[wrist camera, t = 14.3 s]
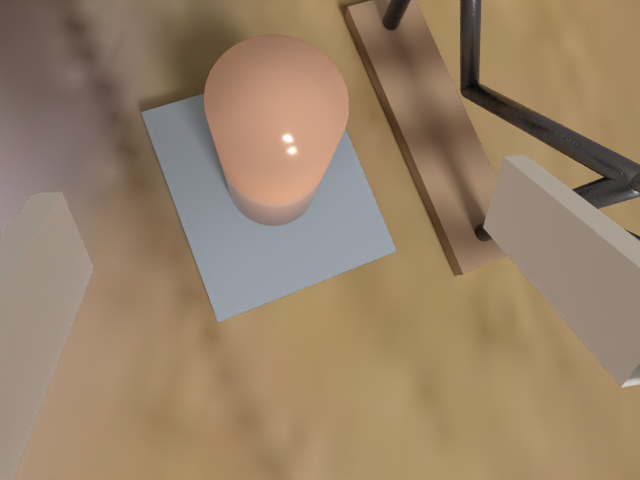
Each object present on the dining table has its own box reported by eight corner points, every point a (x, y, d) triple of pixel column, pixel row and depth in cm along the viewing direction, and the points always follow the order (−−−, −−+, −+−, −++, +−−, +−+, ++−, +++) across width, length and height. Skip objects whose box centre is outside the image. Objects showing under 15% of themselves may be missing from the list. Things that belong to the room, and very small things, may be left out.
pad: (145, 119, 27) (140, 112, 26) (315, 68, 29) (316, 60, 28) (219, 321, 26) (218, 322, 25) (392, 252, 28) (396, 251, 27)
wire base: (344, 18, 30) (347, 6, 29) (405, 1, 31) (410, -11, 30) (455, 275, 28) (463, 274, 27) (516, 249, 29) (527, 247, 28)
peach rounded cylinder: (216, 157, 26) (183, 56, 16) (297, 131, 27) (318, 19, 17) (246, 238, 26) (233, 190, 15) (327, 208, 27) (370, 144, 16)
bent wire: (379, 17, 29) (460, -184, 17) (394, 13, 30) (484, -189, 18) (479, 244, 28) (645, 196, 16) (494, 237, 28) (669, 185, 16)
